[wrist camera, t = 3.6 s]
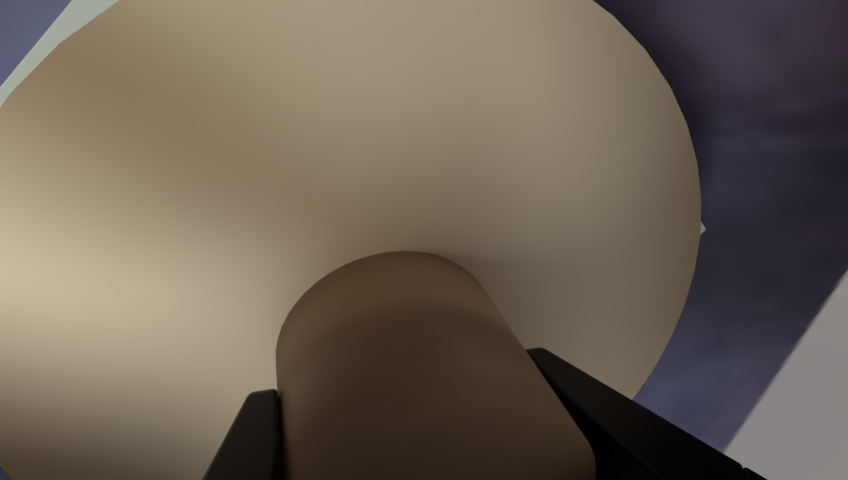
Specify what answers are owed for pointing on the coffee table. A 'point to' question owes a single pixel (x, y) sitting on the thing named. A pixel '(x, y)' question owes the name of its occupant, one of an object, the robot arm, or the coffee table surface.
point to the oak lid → (335, 235)
